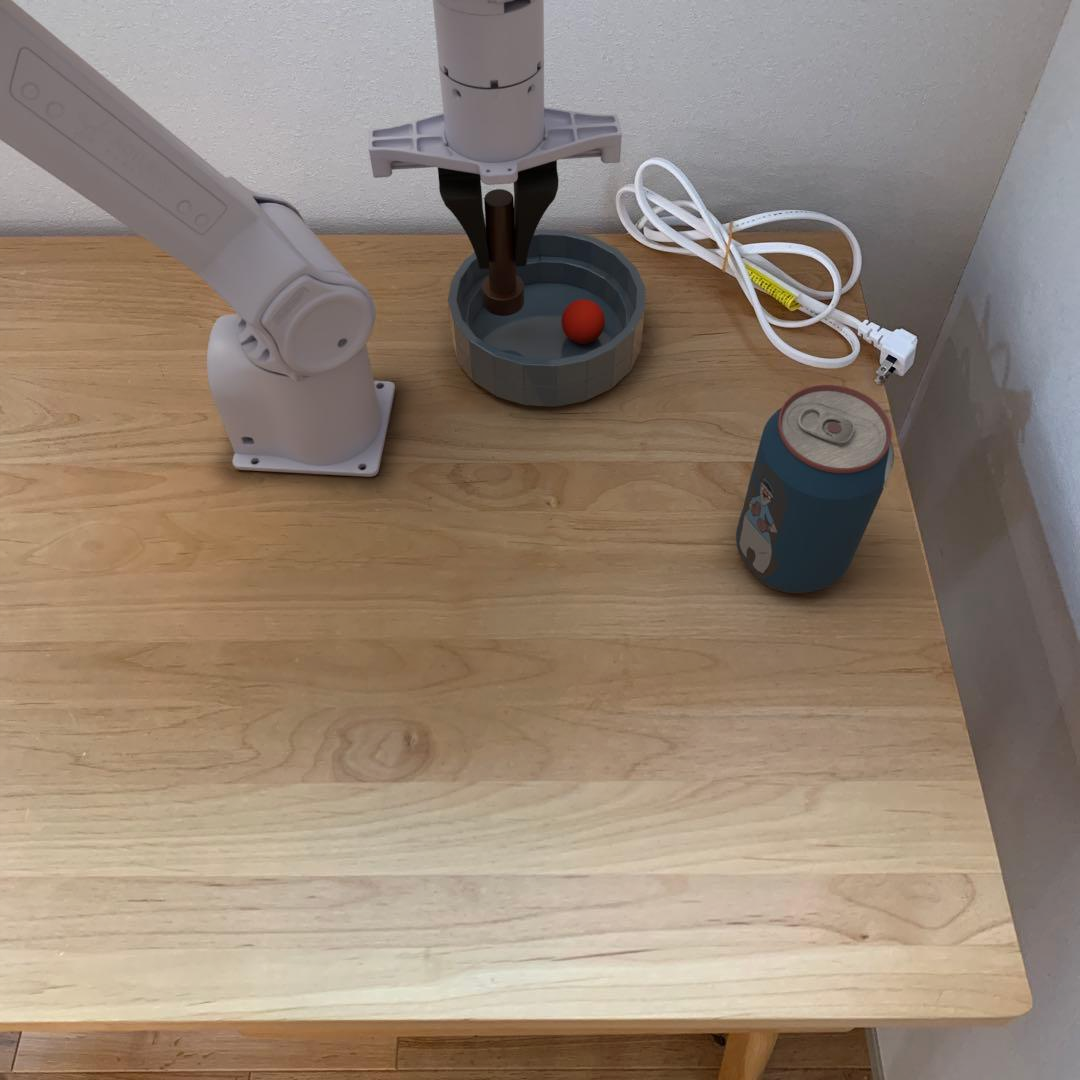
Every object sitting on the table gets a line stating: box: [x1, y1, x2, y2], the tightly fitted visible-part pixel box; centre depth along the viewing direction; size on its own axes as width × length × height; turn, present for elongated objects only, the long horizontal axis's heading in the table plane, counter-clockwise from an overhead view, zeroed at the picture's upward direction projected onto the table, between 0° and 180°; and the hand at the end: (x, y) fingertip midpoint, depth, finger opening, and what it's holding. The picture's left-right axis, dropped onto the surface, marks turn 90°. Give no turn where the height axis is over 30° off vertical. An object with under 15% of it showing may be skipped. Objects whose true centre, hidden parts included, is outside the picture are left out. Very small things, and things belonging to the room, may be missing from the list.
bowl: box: [447, 228, 646, 407], centre depth 71 cm, size 13×13×4 cm
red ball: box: [561, 299, 605, 344], centre depth 71 cm, size 3×3×3 cm
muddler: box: [482, 188, 524, 316], centre depth 66 cm, size 3×3×8 cm
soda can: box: [735, 384, 895, 594], centre depth 57 cm, size 7×7×12 cm
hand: (501, 257), depth 67 cm, fingers closed on muddler, 2 cm apart
